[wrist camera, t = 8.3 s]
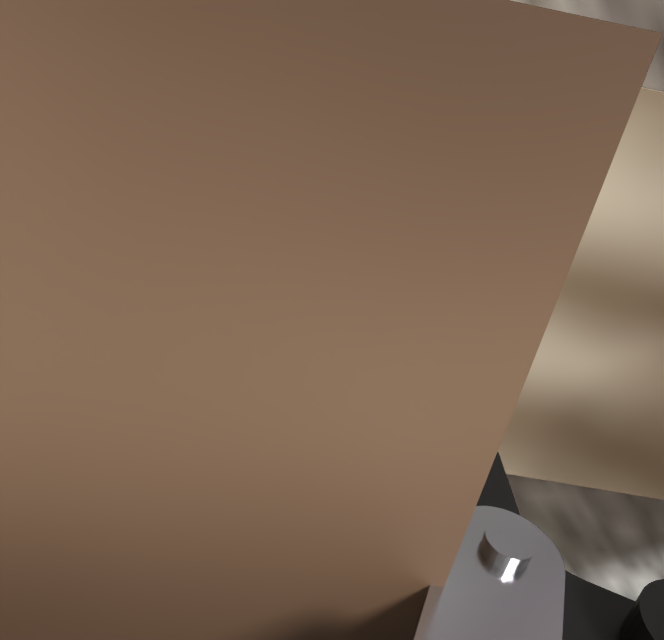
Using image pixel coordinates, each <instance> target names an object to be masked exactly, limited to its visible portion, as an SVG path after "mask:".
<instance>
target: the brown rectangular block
mask: <svg viewBox="0 0 664 640" xmlns="http://www.w3.org/2000/svg"><path fill="white" fill-rule="evenodd" d="M662 34H663V33H659V32H655V31H650V30H645V29H640V28H636V27H631V26H626V25H622V24H617V23H612V22H608V21H603V20H598V19H594V18H589V17H584V16H580V15H575V14H570V13H566V12H561V11H556V10H552V9H547V8H542V7H538V6H533V5H528V4H524V3H519V2H514V1H510V0H0V640H411V639H412V635H413V632H414V629H415V626H416V622H417V619H418V616H419V613H420V611H421V608H422V605H423V603H424V600H425V598H426V595H427V592H428V590H429V587H430V585H433V586H439V587H444V586H445V583H446V581H447V578H448V576H449V573H450V571H451V568H452V566H453V563H454V561H455V558H456V555H457V553H458V550H459V548H460V545H461V543H462V540H463V538H464V535H465V533H466V530H467V528H468V525H469V523H470V520H471V518H472V515H473V512H474V510H475V507H476V505H477V502H478V500H479V497H480V495H481V492H482V490H483V487H484V485H485V482H486V480H487V477H488V474H489V472H490V469H491V467H492V464H493V462H494V459H495V457H496V454H497V452H498V449H499V447H500V444H501V442H502V439H503V436H504V434H505V431H506V429H507V426H508V424H509V421H510V419H511V416H512V414H513V411H514V409H515V406H516V404H517V401H518V398H519V396H520V393H521V391H522V388H523V386H524V383H525V381H526V378H527V376H528V373H529V371H530V368H531V366H532V363H533V360H534V358H535V355H536V353H537V350H538V348H539V345H540V343H541V340H542V338H543V335H544V333H545V330H546V328H547V325H548V323H549V320H550V317H551V315H552V312H553V310H554V307H555V305H556V302H557V300H558V297H559V295H560V292H561V290H562V287H563V285H564V282H565V279H566V277H567V274H568V272H569V269H570V267H571V264H572V262H573V259H574V257H575V254H576V252H577V249H578V247H579V244H580V241H581V239H582V236H583V234H584V231H585V229H586V226H587V224H588V221H589V219H590V216H591V214H592V211H593V209H594V206H595V203H596V201H597V198H598V196H599V193H600V191H601V188H602V186H603V183H604V181H605V178H606V176H607V173H608V171H609V168H610V166H611V163H612V160H613V158H614V155H615V153H616V150H617V148H618V145H619V143H620V140H621V138H622V135H623V133H624V130H625V128H626V125H627V122H628V120H629V117H630V115H631V112H632V110H633V107H634V105H635V102H636V100H637V97H638V95H639V92H640V90H641V87H642V84H643V82H644V79H645V77H646V74H647V72H648V69H649V67H650V64H651V62H652V59H653V57H654V54H655V52H656V49H657V46H658V44H659V41H660V39H661V36H662Z"/></svg>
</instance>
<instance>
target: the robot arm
mask: <svg viewBox="0 0 664 640" xmlns="http://www.w3.org/2000/svg"><path fill="white" fill-rule="evenodd" d="M411 640H664V579H662V580H656V581H653V582H651V583H649V584H648V585H647V586H645V587H644V589H643V590H642V592H641V594H640V595H639V597H638V598H637V600H636V602H635V601H633V600H631V599H628V598H626V597H623V596H621V595H619V594H616V593H614V592H611V591H609V590H607V589H604V588H602V587H599V586H597V585H595V584H592V583H590V582H587V581H585V580H583V579H581V578H579V577H577V576H575V575H573V574H571V573H569V572H568V571H566V570H565V566H564V563H563V559H562V557H561V555H560V553H559V551H558V549H557V548H556V546H555V545H554V543H553V542H552V541H551V540H550V538H549V537H548V536H547V535H546V534H545V533H544V532H543V531H542V530H541V529H539V528H538V527H537V526H536V525H534V524H533V523H531V522H530V521H528V520H527V519H525V518H523V517H522V516H520V514H519V511H518V508H517V505H516V502H515V499H514V496H513V493H512V490H511V487H510V485H509V482H508V479H507V476H506V473H505V470H504V467H503V464H502V461H501V458H500V455H499V452H497V454H496V457H495V459H494V462H493V464H492V467H491V469H490V472H489V474H488V477H487V480H486V482H485V485H484V487H483V490H482V492H481V495H480V497H479V500H478V502H477V505H476V507H475V510H474V512H473V515H472V518H471V520H470V523H469V525H468V528H467V530H466V533H465V535H464V538H463V540H462V543H461V545H460V548H459V550H458V553H457V555H456V558H455V561H454V563H453V566H452V568H451V571H450V573H449V576H448V578H447V581H446V583H445V586H444V587H439V586H433V585H430V587H429V590H428V592H427V595H426V598H425V600H424V603H423V605H422V608H421V611H420V613H419V616H418V619H417V622H416V626H415V629H414V632H413V635H412V639H411Z"/></svg>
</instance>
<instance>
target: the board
mask: <svg viewBox="0 0 664 640" xmlns="http://www.w3.org/2000/svg"><path fill="white" fill-rule="evenodd" d="M498 452H499V455H500V458H501V461H502V464H503V467H504V470H505V473H506V474H510V475H516V476H522V477H528V478H534V479H540V480H546V481H552V482H558V483H564V484H570V485H576V486H582V487H588V488H594V489H600V490H606V491H612V492H618V493H624V494H630V495H636V496H642V497H648V498H654V499H660V500H664V92H663V91H658V90H653V89H648V88H644V87H641V90H640V92H639V95H638V97H637V100H636V102H635V105H634V107H633V110H632V112H631V115H630V117H629V120H628V122H627V125H626V128H625V130H624V133H623V135H622V138H621V140H620V143H619V145H618V148H617V150H616V153H615V155H614V158H613V160H612V163H611V166H610V168H609V171H608V173H607V176H606V178H605V181H604V183H603V186H602V188H601V191H600V193H599V196H598V198H597V201H596V203H595V206H594V209H593V211H592V214H591V216H590V219H589V221H588V224H587V226H586V229H585V231H584V234H583V236H582V239H581V241H580V244H579V247H578V249H577V252H576V254H575V257H574V259H573V262H572V264H571V267H570V269H569V272H568V274H567V277H566V279H565V282H564V285H563V287H562V290H561V292H560V295H559V297H558V300H557V302H556V305H555V307H554V310H553V312H552V315H551V317H550V320H549V323H548V325H547V328H546V330H545V333H544V335H543V338H542V340H541V343H540V345H539V348H538V350H537V353H536V355H535V358H534V360H533V363H532V366H531V368H530V371H529V373H528V376H527V378H526V381H525V383H524V386H523V388H522V391H521V393H520V396H519V398H518V401H517V404H516V406H515V409H514V411H513V414H512V416H511V419H510V421H509V424H508V426H507V429H506V431H505V434H504V436H503V439H502V442H501V444H500V447H499V449H498Z"/></svg>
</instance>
